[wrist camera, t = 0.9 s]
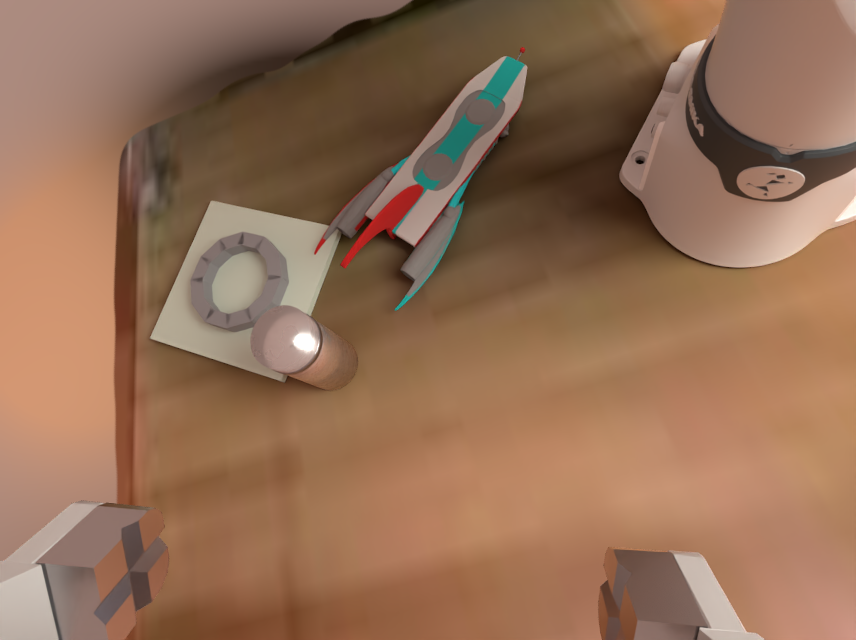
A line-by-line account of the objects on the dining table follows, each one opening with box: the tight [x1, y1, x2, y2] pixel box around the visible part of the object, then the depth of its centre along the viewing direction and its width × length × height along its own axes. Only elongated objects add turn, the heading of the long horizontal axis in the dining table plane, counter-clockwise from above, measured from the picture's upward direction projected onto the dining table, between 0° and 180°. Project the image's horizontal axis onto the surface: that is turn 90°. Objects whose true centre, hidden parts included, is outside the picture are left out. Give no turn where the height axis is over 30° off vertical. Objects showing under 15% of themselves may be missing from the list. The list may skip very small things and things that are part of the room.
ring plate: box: [150, 201, 342, 382], centre depth 53 cm, size 16×16×2 cm
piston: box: [250, 305, 358, 390], centre depth 45 cm, size 5×5×10 cm
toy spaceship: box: [314, 47, 527, 311], centre depth 51 cm, size 27×11×5 cm, turn 147°
